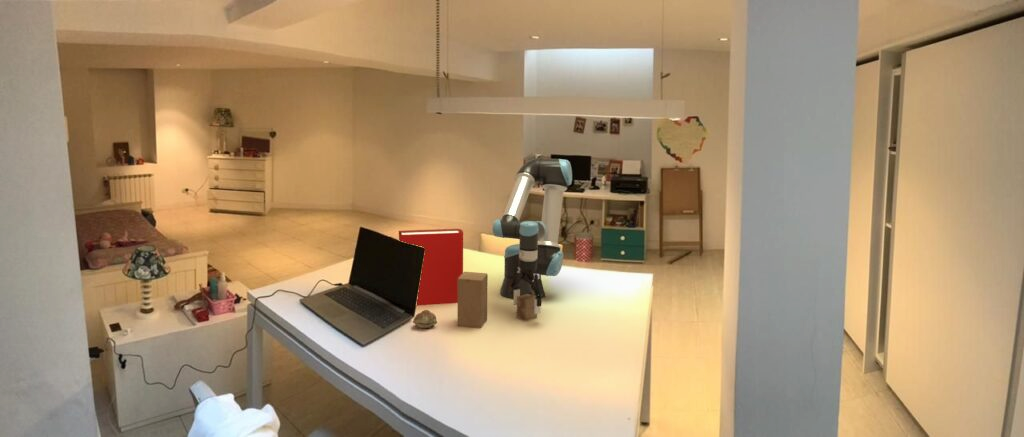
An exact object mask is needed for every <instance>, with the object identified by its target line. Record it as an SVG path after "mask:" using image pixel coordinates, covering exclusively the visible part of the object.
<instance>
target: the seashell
mask: <svg viewBox="0 0 1024 437" xmlns="http://www.w3.org/2000/svg"><path fill="white" fill-rule="evenodd" d="M412 322H413V324H414V325H415V326H416V327H418V328H419V329H425V328H428V329H429V328H431V327H433V326H434V325H436V324H437V323H438V320H437V317H436V315H435V314H434V313H433V312H431V311H430V310H428V309H424V310H422V311H421V312H419V313H417V314H416V315H415V317H414V318H413V321H412Z"/></svg>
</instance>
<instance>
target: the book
mask: <svg viewBox="0 0 1024 437" xmlns="http://www.w3.org/2000/svg"><path fill="white" fill-rule="evenodd" d="M399 240H400V241H403V242H406V243H409V244H414V245H418V246H422V247H424V248H425V255H424V261H423V267H422V273H421V280H420V285H419V292H418V299H417V306H432V305H434V306H435V305H446V304H458V278H459V277H460V276H461V275H462V274H463V273H464V231H463V230H462V229H461V228H442V229H440V228H438V229H418V230H417V229H416V230H415V229H414V230H413V229H412V230H398V241H399ZM417 306H416V307H417Z"/></svg>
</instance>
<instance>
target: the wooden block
mask: <svg viewBox="0 0 1024 437" xmlns="http://www.w3.org/2000/svg"><path fill="white" fill-rule="evenodd" d="M488 276H489V275H488V273H486V272H475V271H474V272H473V271H463V274H462V275H461V276H460V277H459V278H458V303H457V326H458V327H467V328H469V327H470V328H478V329H479V328H480V329H481V328H483V326H484V325H485V323H486V321H487V320H488Z"/></svg>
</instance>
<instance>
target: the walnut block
mask: <svg viewBox="0 0 1024 437" xmlns="http://www.w3.org/2000/svg"><path fill="white" fill-rule="evenodd" d="M535 298H536V296H535V295H533V294H532V295H530V294H525V295H521V296H517V305H516V318H518V319H520V320H522V321H525V322H528V321H531V320H535V319H537V318H538V314H534V305H535Z"/></svg>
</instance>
